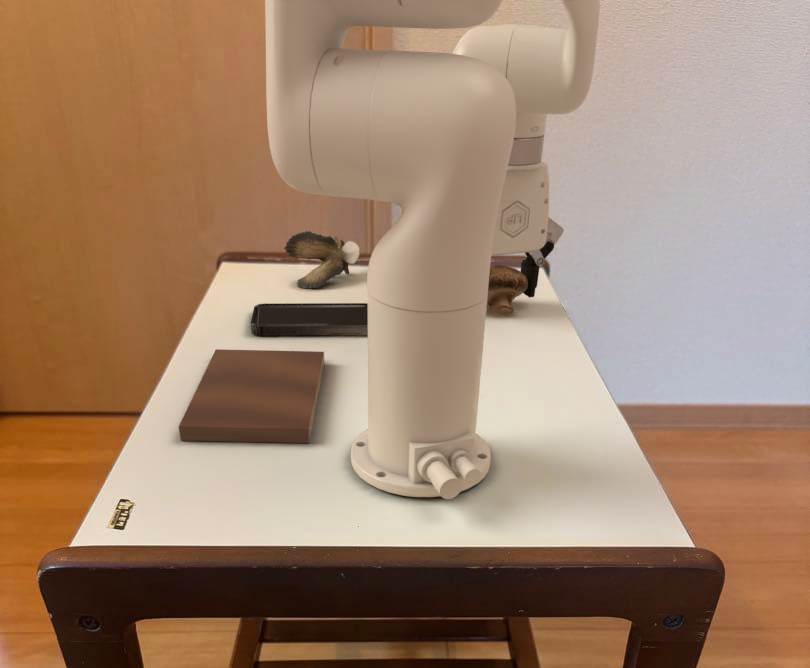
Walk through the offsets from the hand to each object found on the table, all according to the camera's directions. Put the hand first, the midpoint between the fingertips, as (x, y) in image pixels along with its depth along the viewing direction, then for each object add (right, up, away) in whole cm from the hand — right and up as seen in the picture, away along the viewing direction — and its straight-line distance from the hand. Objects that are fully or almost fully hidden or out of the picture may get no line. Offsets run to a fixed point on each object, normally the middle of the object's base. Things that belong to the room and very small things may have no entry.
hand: (496, 297), depth 103 cm
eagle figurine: (-23, +5, +9) cm, 26 cm away
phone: (-23, -5, -5) cm, 24 cm away
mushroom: (0, -2, +1) cm, 2 cm away
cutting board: (-27, -17, -22) cm, 39 cm away
